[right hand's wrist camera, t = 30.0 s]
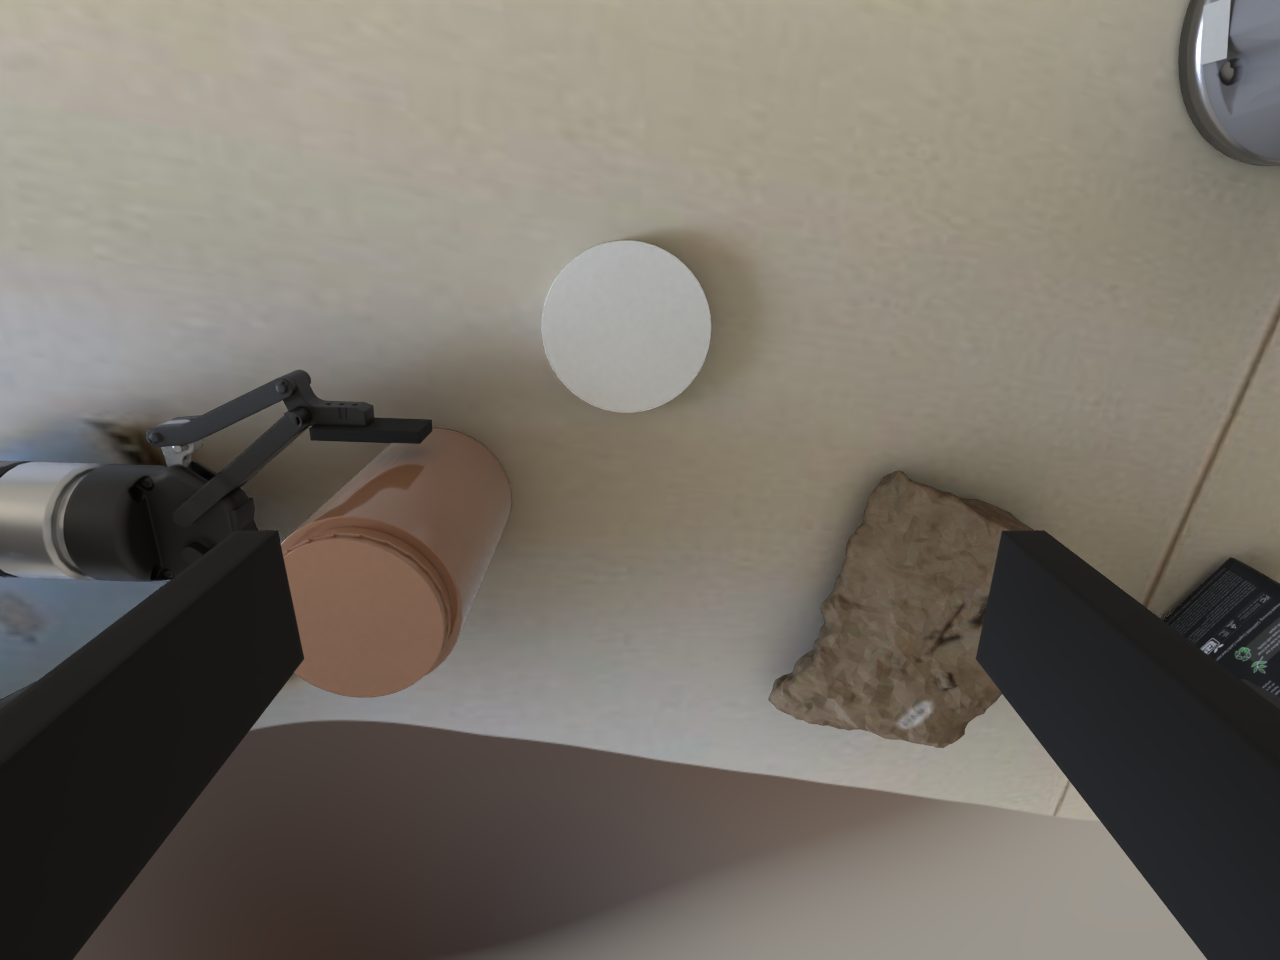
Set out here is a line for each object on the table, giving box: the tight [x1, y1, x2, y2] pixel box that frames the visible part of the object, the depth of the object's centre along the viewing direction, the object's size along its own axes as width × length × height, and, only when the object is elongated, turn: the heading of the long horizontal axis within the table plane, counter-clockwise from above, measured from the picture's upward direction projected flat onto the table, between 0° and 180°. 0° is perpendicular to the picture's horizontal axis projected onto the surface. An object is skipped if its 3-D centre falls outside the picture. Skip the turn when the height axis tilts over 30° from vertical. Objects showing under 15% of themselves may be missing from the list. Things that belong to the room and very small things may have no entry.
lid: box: [541, 240, 711, 413], centre depth 45 cm, size 11×11×2 cm
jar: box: [281, 428, 512, 697], centre depth 42 cm, size 10×10×17 cm
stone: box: [769, 471, 1034, 748], centre depth 51 cm, size 21×15×6 cm
